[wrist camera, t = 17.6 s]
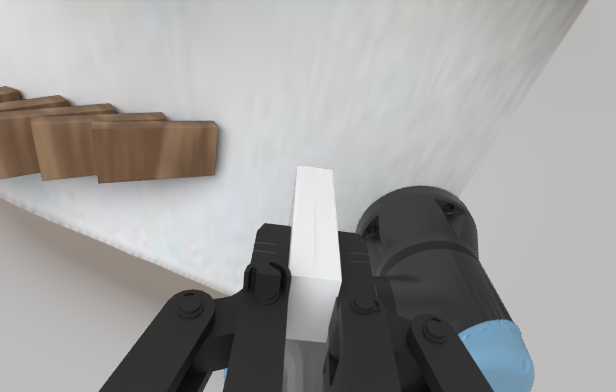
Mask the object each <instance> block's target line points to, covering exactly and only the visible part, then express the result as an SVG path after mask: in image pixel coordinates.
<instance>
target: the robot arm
mask: <svg viewBox="0 0 616 392" xmlns="http://www.w3.org/2000/svg"><path fill="white" fill-rule="evenodd" d="M221 369H224V378H225V382H224V388H223V392H530V391H531V388H532V385H533V382H534V366H533V362H532V360H531V357H530V355H529V353H528V350H527V348H526V346H525V344H524V342H523V339H522V336H521V332H520V329H519V328H518V326H517V325H516V324H515V323H514V322H513V320H512V319H511V317H510V315H509V313H508V312H507V310H506V308H505V306H504V304H503V303H502V301H501V299H500V297H499V295H498V294H497V292H496V290H495V288H494V287H493V285H492V283H491V281H490V279H489V278H488V276H487V274H486V272H485V271H484V269H483V267H482V265H481V263H480V262H479V257H478V239H477V229H476V225H475V222H474V220H473V218H472V216H471V214H470V213H469V211H468V209H467V208H466V206H465V205H464V203H463V202H462V201H461V200H460V199H459V198H457V197H456V196H455V195H453V194H451V193H450V192H448V191H445V190H443V189H439V188H436V187H429V186H413V187H407V188H402V189H399V190H396V191H393V192H391V193H389V194H386V195H385V196H383V197H381V198H380V199H378V200H377V201H376V202H374V203H373V204H372V205H371V206H370V207H369V208H368V209H367V210H366V211H365V213H364V214H363V216H362V217H361V219H360V221H359V223H358V226H357V230H356V233H349V232H341V231H338V230H337V218H336V207H335V195H334V183H333V171H332V170H330V169H323V168H315V167H307V166H300V165H297V171H296V178H295V185H294V192H293V199H292V206H291V213H290V222H289V226H284V225H276V224H267V223H264V224H263V225H262V226H261V228H260V229H259V230H258V231H257V234H256V239H255V244H254V249H253V254H252V259H251V263H250V264H249V265H248V266H247V268H246V270H245V272H244V285H243V289H242V290H240V291H239V292H238V293H236V294H234V295H232V296H229V297H225V298H219V299H213V298H212V297H211V296H210V295H209V294H207V293H205V292H203V291H200V290H186V291H182V292H180V293H177V294H175V295H174V296H173V297H172V298H171V299H170V300H168V302H167V303H166V304H165V305H164V307H163V308H162V309H161V311H160V312H159V313H158V315H157V316H156V317H155V319H154V320H153V321H152V322H151V324H150V325H149V326H148V328H147V329H146V330H145V332H144V333H143V334H142V335H141V337H140V338H139V339H138V341H137V342H136V344H135V345H134V346H133V347H132V349H131V350H130V352H128V354H127V355H126V357H125V358H124V359H123V361H122V362H121V363H120V364H119V366H118V367H117V368H116V370H115V371H114V372H113V374H112V375H111V376H110V377H109V379H108V380H107V381H106V383H105V384H104V385H103V387H102V388H101V389H100V390H99V392H203V390H204V388H205V386H206V384H207V382H208V380H209V378H210V376H211V374H212V372H213V371H216V370H221Z"/></svg>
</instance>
